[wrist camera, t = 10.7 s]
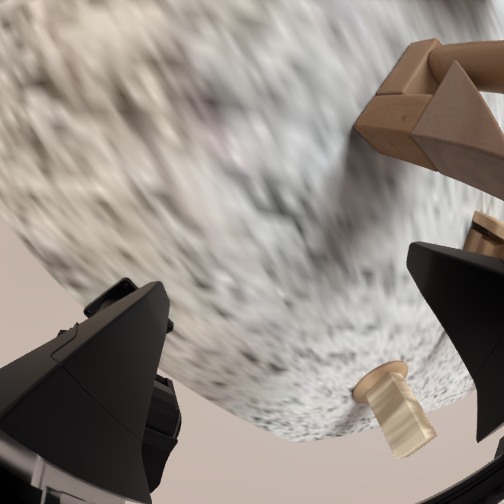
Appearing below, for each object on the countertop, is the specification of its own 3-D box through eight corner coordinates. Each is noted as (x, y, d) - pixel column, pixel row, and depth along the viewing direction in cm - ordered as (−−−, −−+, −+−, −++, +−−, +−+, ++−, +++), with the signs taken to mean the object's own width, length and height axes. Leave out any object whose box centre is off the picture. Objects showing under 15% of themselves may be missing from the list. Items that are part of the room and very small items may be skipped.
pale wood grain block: (364, 393, 34) (395, 459, 23) (388, 371, 32) (426, 438, 22) (378, 394, 35) (409, 456, 24) (400, 373, 33) (437, 435, 23)
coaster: (360, 406, 37) (362, 409, 36) (345, 385, 33) (347, 389, 32) (409, 377, 36) (410, 379, 35) (402, 351, 32) (404, 353, 31)
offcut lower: (458, 256, 26) (470, 265, 24) (469, 227, 25) (481, 235, 23) (472, 258, 27) (483, 266, 25) (482, 231, 25) (494, 238, 23)
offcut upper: (472, 266, 24) (484, 275, 22) (480, 237, 23) (493, 245, 21) (485, 262, 25) (497, 271, 23) (493, 235, 23) (505, 243, 21)
